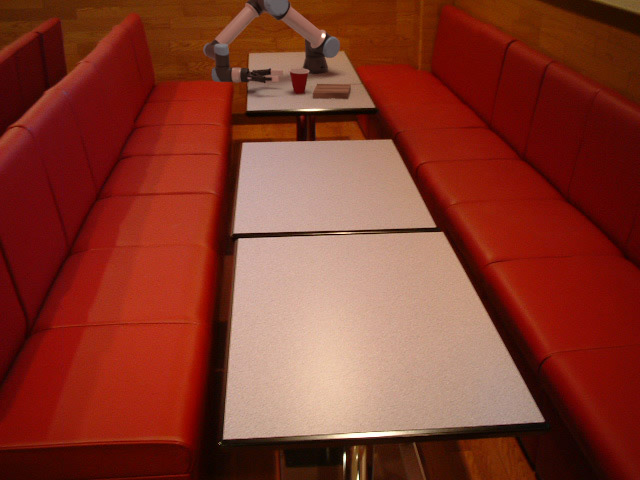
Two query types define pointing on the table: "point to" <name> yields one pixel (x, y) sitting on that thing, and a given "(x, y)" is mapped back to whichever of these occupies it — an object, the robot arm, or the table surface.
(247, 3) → the robot arm
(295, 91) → the plastic cup
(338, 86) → the walnut stand
